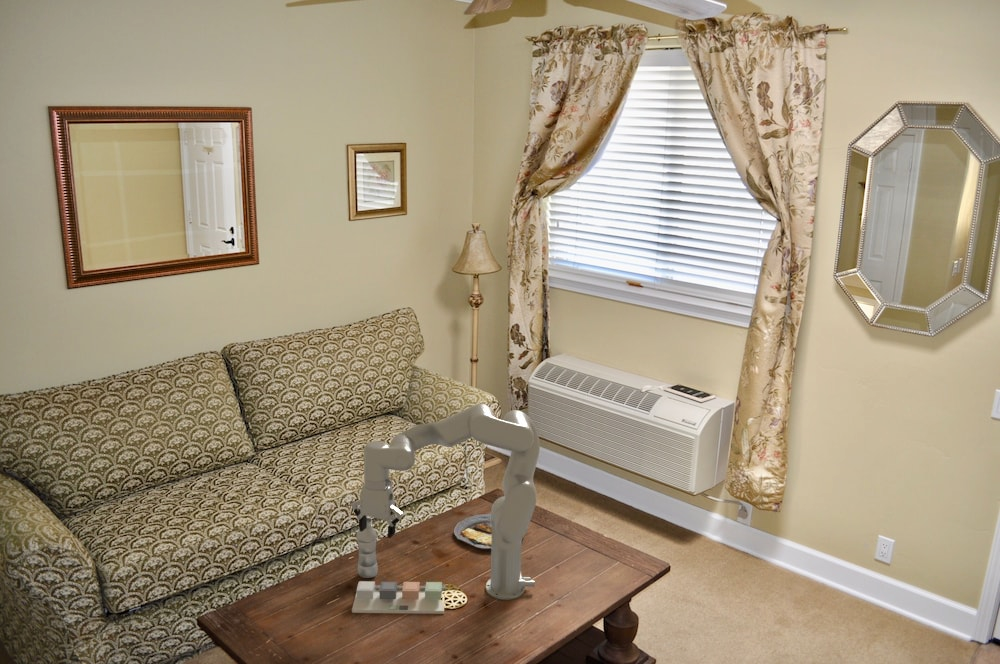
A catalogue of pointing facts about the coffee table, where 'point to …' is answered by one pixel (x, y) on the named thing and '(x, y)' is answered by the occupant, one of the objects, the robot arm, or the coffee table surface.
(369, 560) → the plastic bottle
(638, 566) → the coffee table surface
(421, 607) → the keyboard base
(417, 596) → the key terracotta
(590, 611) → the coffee table surface
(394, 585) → the key charcoal
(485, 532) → the food plate
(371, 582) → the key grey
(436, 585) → the key sage
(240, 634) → the coffee table surface
